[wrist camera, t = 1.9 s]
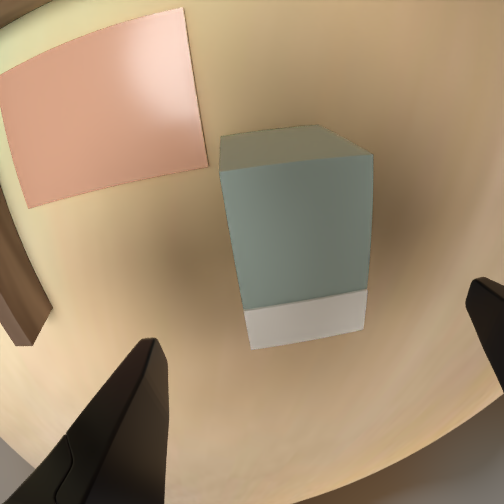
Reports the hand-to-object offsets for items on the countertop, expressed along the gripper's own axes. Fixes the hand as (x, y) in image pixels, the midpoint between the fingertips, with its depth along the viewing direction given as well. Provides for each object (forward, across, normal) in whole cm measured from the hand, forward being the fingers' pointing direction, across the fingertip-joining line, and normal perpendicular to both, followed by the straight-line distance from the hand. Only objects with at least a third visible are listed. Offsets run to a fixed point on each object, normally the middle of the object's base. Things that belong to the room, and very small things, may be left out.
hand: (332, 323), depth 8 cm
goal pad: (+9, +8, -6) cm, 13 cm away
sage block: (+9, 0, 0) cm, 9 cm away
